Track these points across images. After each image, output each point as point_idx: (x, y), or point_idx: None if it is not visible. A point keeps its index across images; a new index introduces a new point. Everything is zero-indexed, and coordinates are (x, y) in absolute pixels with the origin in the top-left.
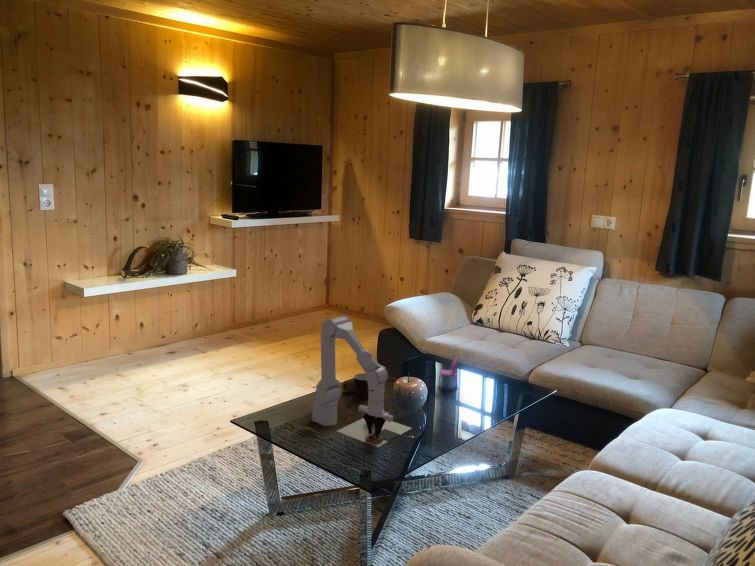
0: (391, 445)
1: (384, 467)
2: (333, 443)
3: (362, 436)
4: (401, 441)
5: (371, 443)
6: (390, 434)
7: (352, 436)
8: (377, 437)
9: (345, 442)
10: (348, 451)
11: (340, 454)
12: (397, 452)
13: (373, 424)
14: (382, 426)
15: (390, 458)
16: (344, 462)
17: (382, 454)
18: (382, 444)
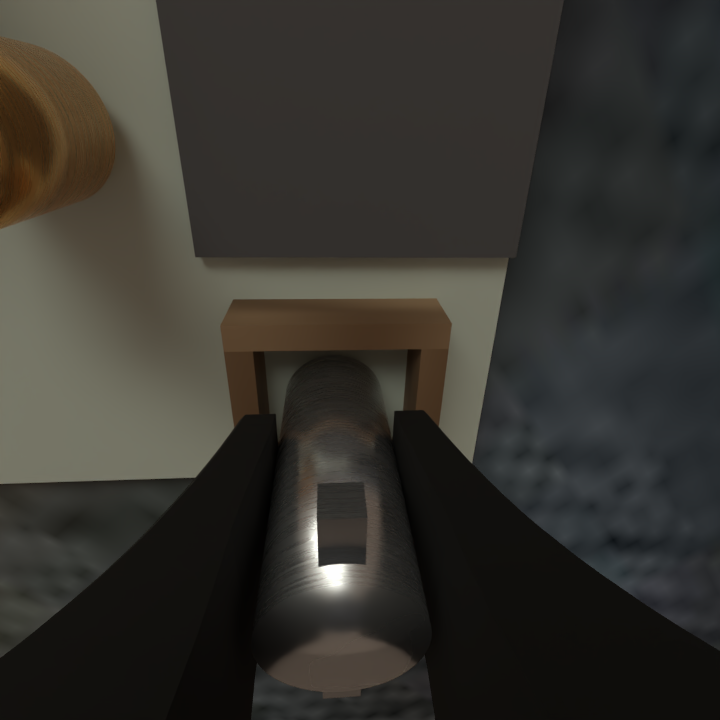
0: (563, 271)
1: (661, 614)
2: (38, 616)
3: (111, 386)
4: (662, 22)
5: None
6: (429, 5)
7: (29, 468)
8: (382, 401)
9: (90, 546)
10: None
11: (257, 675)
12: (698, 371)
13: (321, 664)
14: (529, 530)
15: (662, 502)
16: (367, 710)
17: (559, 495)
18: (483, 389)
